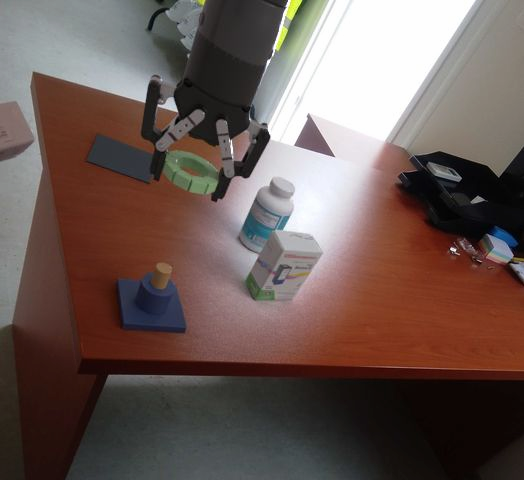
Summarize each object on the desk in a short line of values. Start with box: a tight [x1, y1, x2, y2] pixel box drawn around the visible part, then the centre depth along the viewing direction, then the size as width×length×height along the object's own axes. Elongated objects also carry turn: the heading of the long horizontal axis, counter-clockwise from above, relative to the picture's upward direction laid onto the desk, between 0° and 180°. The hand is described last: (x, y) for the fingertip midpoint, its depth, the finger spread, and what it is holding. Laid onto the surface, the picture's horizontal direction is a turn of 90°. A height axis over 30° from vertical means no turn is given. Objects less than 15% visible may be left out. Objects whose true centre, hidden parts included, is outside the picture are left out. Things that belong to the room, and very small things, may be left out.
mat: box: [85, 133, 154, 185], centre depth 91 cm, size 12×12×1 cm
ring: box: [162, 149, 219, 195], centre depth 54 cm, size 7×7×1 cm
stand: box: [116, 262, 187, 334], centre depth 65 cm, size 9×9×8 cm
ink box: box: [244, 229, 324, 301], centre depth 78 cm, size 9×5×12 cm, turn 118°
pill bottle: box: [239, 176, 296, 254], centre depth 87 cm, size 8×7×14 cm
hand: (185, 187), depth 56 cm, fingers closed on ring, 6 cm apart
